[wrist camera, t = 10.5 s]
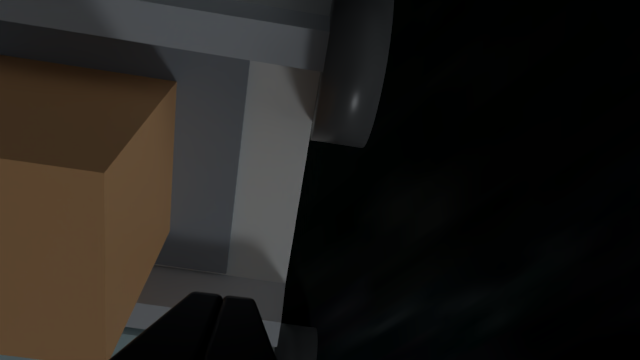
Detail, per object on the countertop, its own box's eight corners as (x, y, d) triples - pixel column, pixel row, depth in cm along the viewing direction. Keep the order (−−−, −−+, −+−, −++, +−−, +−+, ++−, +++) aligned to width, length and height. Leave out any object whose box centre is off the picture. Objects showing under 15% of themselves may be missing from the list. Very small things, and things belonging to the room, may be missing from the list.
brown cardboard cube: (176, 81, 17) (103, 173, 11) (169, 231, 19) (105, 368, 13) (-4, 54, 16) (-167, 134, 11) (10, 209, 19) (-120, 339, 13)
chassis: (387, -39, 17) (404, -17, 13) (300, 393, 24) (294, 491, 20) (-190, -140, 16) (-362, -150, 12) (-95, 342, 23) (-181, 435, 19)
